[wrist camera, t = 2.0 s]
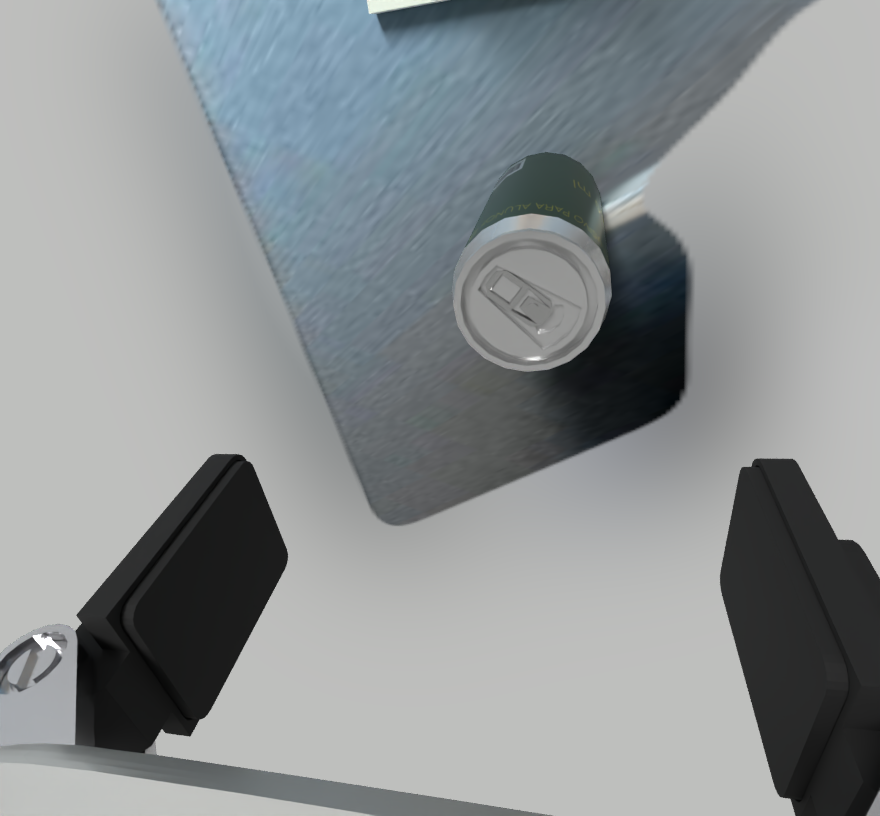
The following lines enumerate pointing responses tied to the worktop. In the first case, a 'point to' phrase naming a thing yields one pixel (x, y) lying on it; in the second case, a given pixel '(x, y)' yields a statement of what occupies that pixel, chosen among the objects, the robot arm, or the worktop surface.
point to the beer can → (535, 267)
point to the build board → (396, 5)
